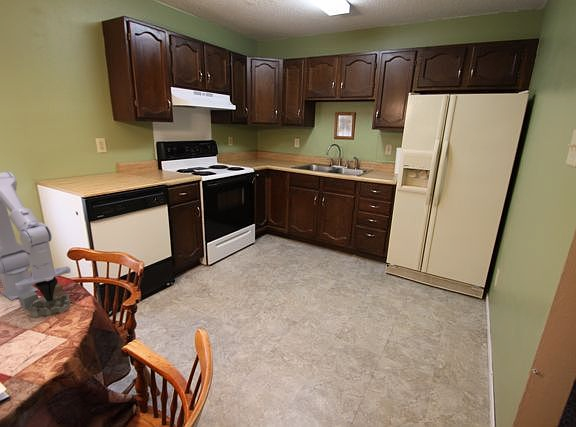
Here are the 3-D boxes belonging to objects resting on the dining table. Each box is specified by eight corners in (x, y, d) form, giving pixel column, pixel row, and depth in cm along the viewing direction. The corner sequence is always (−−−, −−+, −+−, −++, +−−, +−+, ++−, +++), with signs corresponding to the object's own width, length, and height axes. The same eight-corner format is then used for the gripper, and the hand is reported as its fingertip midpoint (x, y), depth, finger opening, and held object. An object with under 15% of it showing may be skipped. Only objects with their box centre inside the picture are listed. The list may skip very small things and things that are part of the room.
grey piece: (28, 320, 98) (25, 309, 97) (35, 307, 105) (32, 297, 104) (68, 313, 103) (65, 302, 102) (72, 301, 109) (70, 291, 108)
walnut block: (46, 296, 112) (44, 286, 111) (58, 291, 115) (56, 281, 114) (51, 299, 110) (49, 289, 109) (64, 294, 113) (62, 284, 112)
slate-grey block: (20, 305, 105) (18, 295, 104) (34, 300, 109) (32, 290, 108) (25, 309, 104) (23, 299, 102) (39, 304, 107) (37, 293, 106)
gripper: (18, 274, 91) (28, 314, 95) (72, 257, 103) (78, 293, 107) (8, 268, 94) (18, 307, 98) (61, 252, 106) (68, 287, 110)
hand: (49, 299), depth 103 cm, fingers closed
